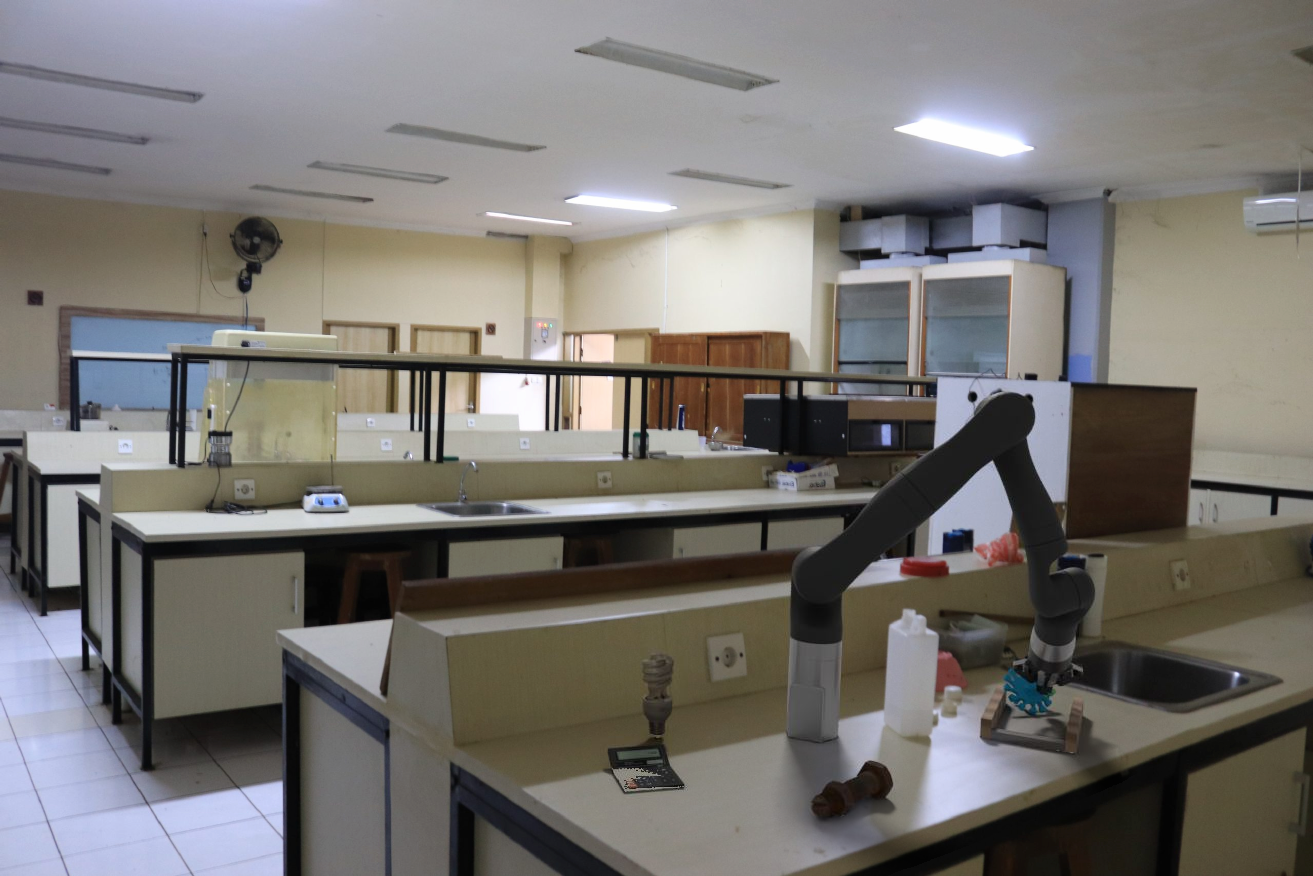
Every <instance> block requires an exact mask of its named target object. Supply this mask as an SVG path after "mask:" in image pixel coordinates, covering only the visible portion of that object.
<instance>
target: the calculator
mask: <svg viewBox="0 0 1313 876" xmlns="http://www.w3.org/2000/svg"><path fill="white" fill-rule="evenodd" d="M607 755H608V760H609V764H610V765H609V766H610V768H611V767H612V768H613V769H619V768H620V769H622V768H624V769H625V768H627V769H629V768H630V769H632V768H634V769H635V768H639V769H641V768H642V769H643V770H644V771H645V772H648V773H650V772H653V773H652V774H656V773H657V774H658V775H661V776H650V777H649V776H636V778H638V777H641V778H640V779H633V778H631V779H633V780H632V781H626V780H624V781H626V784H625V785H628V784H630V785H629V786H628V787H627V786H624V787H627V788H629V789H636V788H652V787H654V788H655V787H678V786H679V787H680V786H681V787H682V786H684V787H686V786H685V782H684V781H683V780H682V778H680V776H679V775H678V773H677V772H676V771H675V770H674V769H673V767H672V766H671V764H670V760H669V757H668V754H667V750H666V747H665V744H664V743H663V744H662V743H660V744H648V745H636V746H635V745H634V746H633V745H632V746H621V747H608V748H607ZM646 770H648V771H646ZM636 771H638V770H636ZM644 771H642V770H641V772H644ZM643 778H645V779H643ZM636 780H637V781H636ZM627 782H630V783H627ZM633 783H634V784H633ZM627 788H625V789H627Z"/></svg>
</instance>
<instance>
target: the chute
mask: <svg viewBox="0 0 1313 876" xmlns="http://www.w3.org/2000/svg"><path fill="white" fill-rule="evenodd" d="M1003 687H1004V684H997V685H996V687H995V689H994V691H993V693H992V695H991V697H990V699H989V701H988V703H987V705H986V707H985V708H984V711H983V713H982V715H981V717H980V726H979V729H980V731H979V732H980V733H979V738H982V739H988V740H993V741H1000V742H1003V743H1004V742H1005V743H1011V744H1016V745H1021V744H1022V745H1021V746H1027V747H1032V746H1033V748H1038V747H1040V748H1039V749H1044V748H1046V749H1045V750H1049V749H1052V750H1051V751H1055V750H1059V751H1058V752H1060V751H1065V752H1064V753H1066V752H1073V753H1076V752H1077V751H1078V747H1079V741H1080V735H1081V730H1080V729H1082V724H1083V723H1082V722H1083V718H1084V717H1083V716H1084V701H1085V698H1084V697H1082V696H1081V697H1080V696H1073V699H1072V702H1071V703H1072V704H1071V709H1070V713H1069V718H1068V721H1067V726H1066V730H1065V739H1061V738H1055V737H1049V736H1042V735H1037V734H1031V733H1025V732H1021V731H1014V730H1008V729H1001V728H996V727H997V725H998V723H999V720H1000V718H1001V716H1002V713H1003V711H1004V709H1005V707H1006V704H1007V699H1008V698H1007V695H1008V694H1007V693H1008V691H1005V690H1004V689H1003ZM1077 746H1078V747H1077ZM1076 754H1077V753H1076Z"/></svg>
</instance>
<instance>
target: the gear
mask: <svg viewBox="0 0 1313 876" xmlns="http://www.w3.org/2000/svg"><path fill="white" fill-rule="evenodd" d="M1017 675H1018V674H1017V673H1016V672H1015V671H1014V670H1013V667H1012V668H1009V670H1008V673H1006V674H1005V675H1004V676H1003V678H1002V679H1003V681H1005V684H1003V686H1004V687H1003V689H1004V690H1005V691H1007V692H1009V693H1010V694H1009V695H1008V698H1007V699H1008V700H1009V702H1011V703H1013V704H1014V705H1017V708H1018V710H1019V711H1022V712H1023V711H1024V710H1025V709H1026V706H1027V705H1030V708H1029V709H1028V713H1029V714H1030V715H1033V716H1035V715H1036V714H1037V713H1038V712H1039V713H1040V714H1044V713H1046V712H1048V711H1047V708H1049V707H1050V706H1051V705H1052V704H1053V701H1052V700H1051V699H1050V697H1053V696H1054V695H1055V694H1056V693H1057V690H1056V689H1055V688H1053V689H1052V692H1051V693H1048V695H1040V692H1037V691H1036V682H1035V683H1029V682H1027V681H1026V680H1025V679H1024V678H1022V677H1021V676H1020V675H1019V676H1017ZM1036 705H1037V706H1038V710H1037V707H1036Z"/></svg>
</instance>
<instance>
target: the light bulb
mask: <svg viewBox="0 0 1313 876" xmlns="http://www.w3.org/2000/svg"><path fill="white" fill-rule="evenodd" d="M649 655H650V657H649V658H648V659H643V660H642V662H641V665H642V666H643V667H642V668H641V673H642V674H643V677H642V681H643V682H644V683H646V684H647V690H648V693H646V694H645V695H643V696H642V713H643V715H644V717H646V720H647V721H648V734H650V735H652V734H653V736H654V735H662V734H663V735H664V734H665V733H666V721H667V720H668V719H669V717H670V716H671V715H672V711H673V710H672V709H673V701H674V700H673V696H672V695H670V694H668V693H667V687H669V686H670V685H671V684H672V682H673V677H672V676H673V674H674V665H675V661H674V659H673V657H671V656H669V655H668V654H665V653H662V652H658V651H657V652H652V653H651V654H649ZM663 735H662V736H663Z"/></svg>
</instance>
